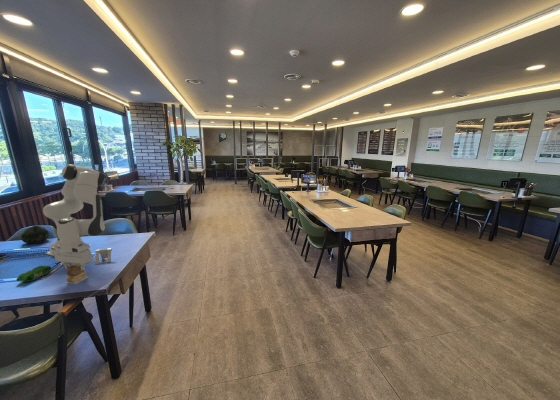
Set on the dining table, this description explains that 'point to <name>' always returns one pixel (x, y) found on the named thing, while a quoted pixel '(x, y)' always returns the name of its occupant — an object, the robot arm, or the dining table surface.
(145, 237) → the dining table surface
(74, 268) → the walnut cube
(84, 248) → the robot arm
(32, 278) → the snack package
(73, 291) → the dining table surface
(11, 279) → the dining table surface
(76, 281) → the oak base block
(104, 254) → the portable electronic device stand
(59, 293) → the dining table surface
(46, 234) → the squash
